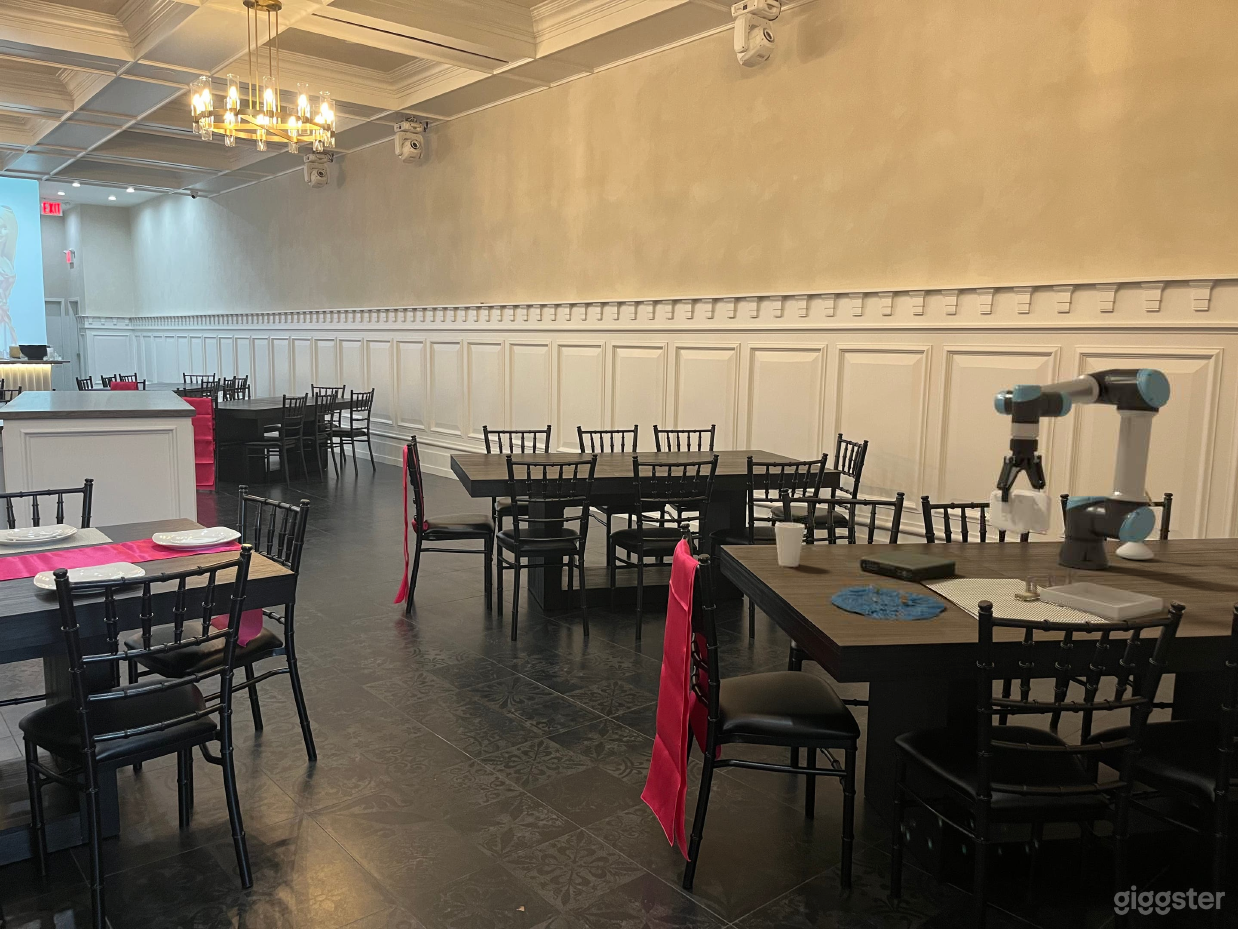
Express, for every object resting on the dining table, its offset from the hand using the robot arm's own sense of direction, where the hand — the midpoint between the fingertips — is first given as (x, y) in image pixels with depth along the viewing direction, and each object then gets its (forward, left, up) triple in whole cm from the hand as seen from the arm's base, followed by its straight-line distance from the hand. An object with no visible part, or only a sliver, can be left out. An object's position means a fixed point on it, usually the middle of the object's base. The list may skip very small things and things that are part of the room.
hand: (1019, 512), depth 267 cm
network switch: (+15, -28, -23) cm, 39 cm away
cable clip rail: (0, +12, -22) cm, 25 cm away
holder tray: (0, +26, -22) cm, 34 cm away
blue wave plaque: (+51, -1, -23) cm, 56 cm away
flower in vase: (-75, -9, -22) cm, 79 cm away
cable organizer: (0, 0, -6) cm, 6 cm away
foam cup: (+41, -54, -22) cm, 71 cm away
